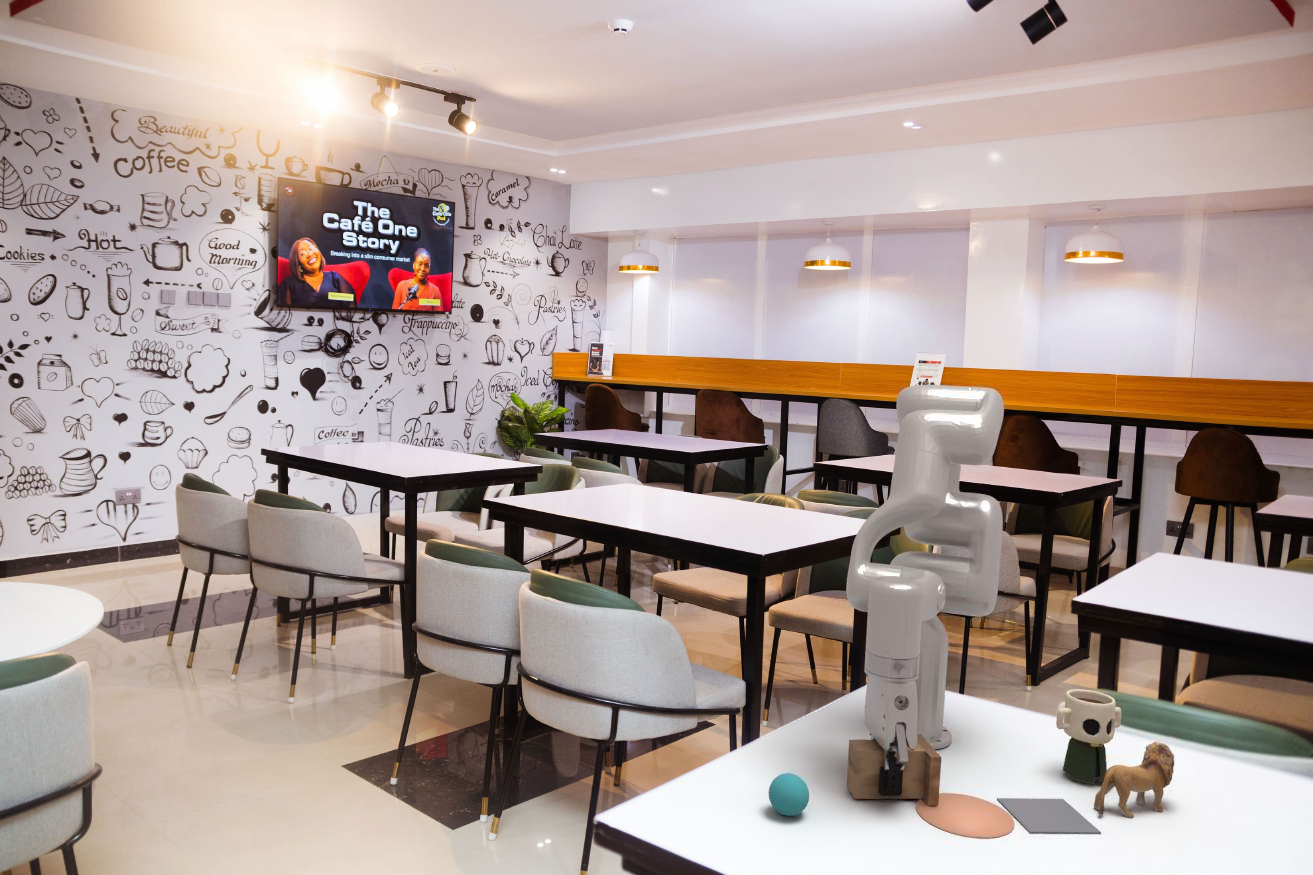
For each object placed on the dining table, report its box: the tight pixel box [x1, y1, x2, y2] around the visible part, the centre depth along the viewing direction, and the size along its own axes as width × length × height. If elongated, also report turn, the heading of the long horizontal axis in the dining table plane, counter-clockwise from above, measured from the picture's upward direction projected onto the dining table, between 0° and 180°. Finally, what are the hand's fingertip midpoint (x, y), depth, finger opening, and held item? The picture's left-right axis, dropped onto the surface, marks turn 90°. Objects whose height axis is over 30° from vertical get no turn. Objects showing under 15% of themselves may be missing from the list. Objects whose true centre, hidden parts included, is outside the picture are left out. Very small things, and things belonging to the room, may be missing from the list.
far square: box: [996, 797, 1102, 835], centre depth 129 cm, size 10×10×1 cm
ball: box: [768, 772, 810, 817], centre depth 126 cm, size 6×6×6 cm
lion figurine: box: [1093, 741, 1175, 819], centre depth 133 cm, size 15×5×9 cm, turn 119°
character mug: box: [1055, 688, 1122, 784], centre depth 143 cm, size 11×7×13 cm, turn 100°
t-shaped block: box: [846, 734, 942, 805], centre depth 133 cm, size 12×8×7 cm
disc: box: [915, 792, 1015, 839], centre depth 128 cm, size 13×13×1 cm
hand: (884, 785), depth 134 cm, fingers closed on t-shaped block, 4 cm apart
